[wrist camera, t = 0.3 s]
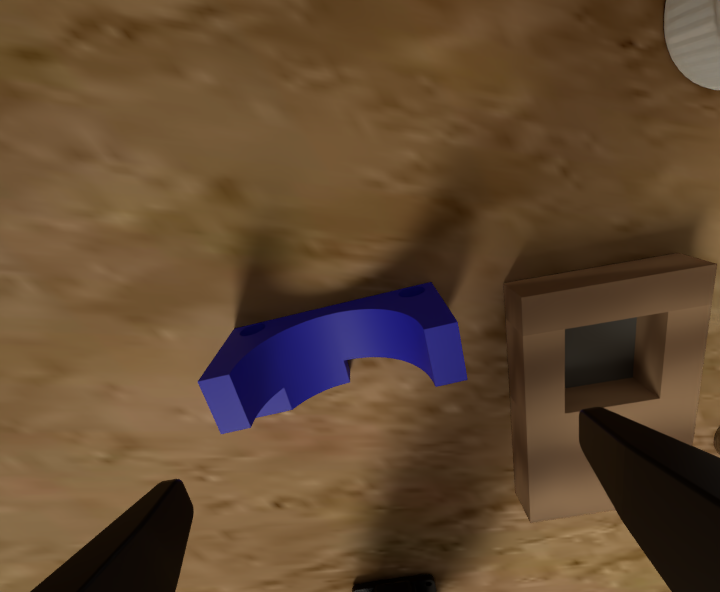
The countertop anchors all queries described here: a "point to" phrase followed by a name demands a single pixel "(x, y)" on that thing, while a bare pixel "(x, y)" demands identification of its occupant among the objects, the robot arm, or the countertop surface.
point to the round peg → (717, 441)
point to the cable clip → (328, 352)
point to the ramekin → (694, 39)
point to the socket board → (600, 367)
